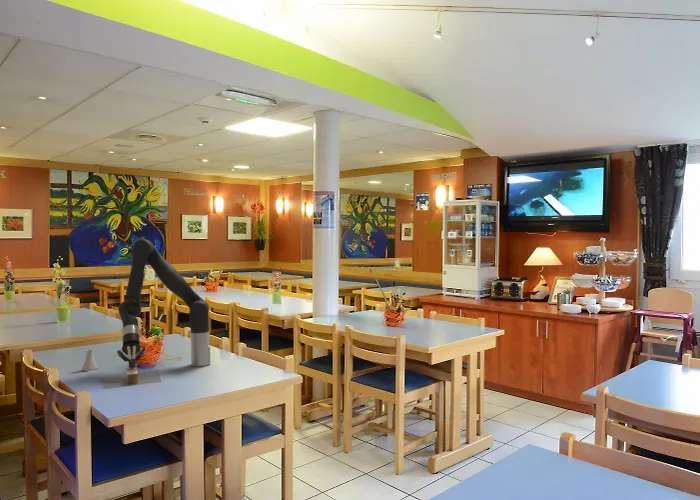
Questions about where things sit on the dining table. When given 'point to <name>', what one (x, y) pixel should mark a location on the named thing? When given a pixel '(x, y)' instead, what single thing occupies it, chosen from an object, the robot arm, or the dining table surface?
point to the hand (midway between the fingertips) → (132, 367)
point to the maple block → (132, 376)
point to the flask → (89, 362)
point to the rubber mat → (121, 379)
